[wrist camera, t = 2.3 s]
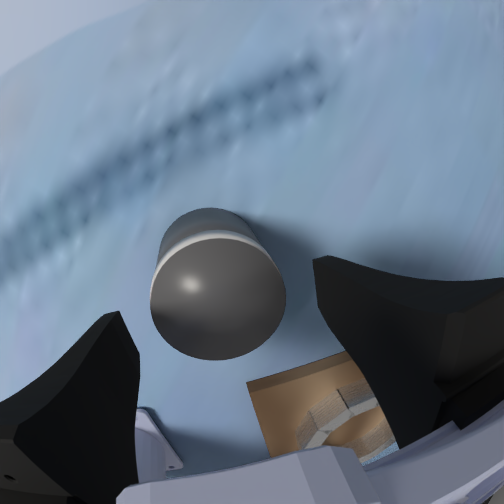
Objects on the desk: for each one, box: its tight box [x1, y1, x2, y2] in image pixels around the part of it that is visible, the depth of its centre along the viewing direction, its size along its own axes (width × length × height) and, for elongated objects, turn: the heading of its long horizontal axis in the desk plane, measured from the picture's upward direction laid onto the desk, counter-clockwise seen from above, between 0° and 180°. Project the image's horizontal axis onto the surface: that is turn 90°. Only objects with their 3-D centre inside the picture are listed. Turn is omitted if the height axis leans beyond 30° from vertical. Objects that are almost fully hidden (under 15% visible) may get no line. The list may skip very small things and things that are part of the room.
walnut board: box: [246, 351, 385, 458], centre depth 23 cm, size 14×14×1 cm
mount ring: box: [295, 378, 396, 463], centre depth 21 cm, size 9×9×2 cm
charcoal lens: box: [150, 208, 286, 360], centre depth 14 cm, size 5×5×5 cm
